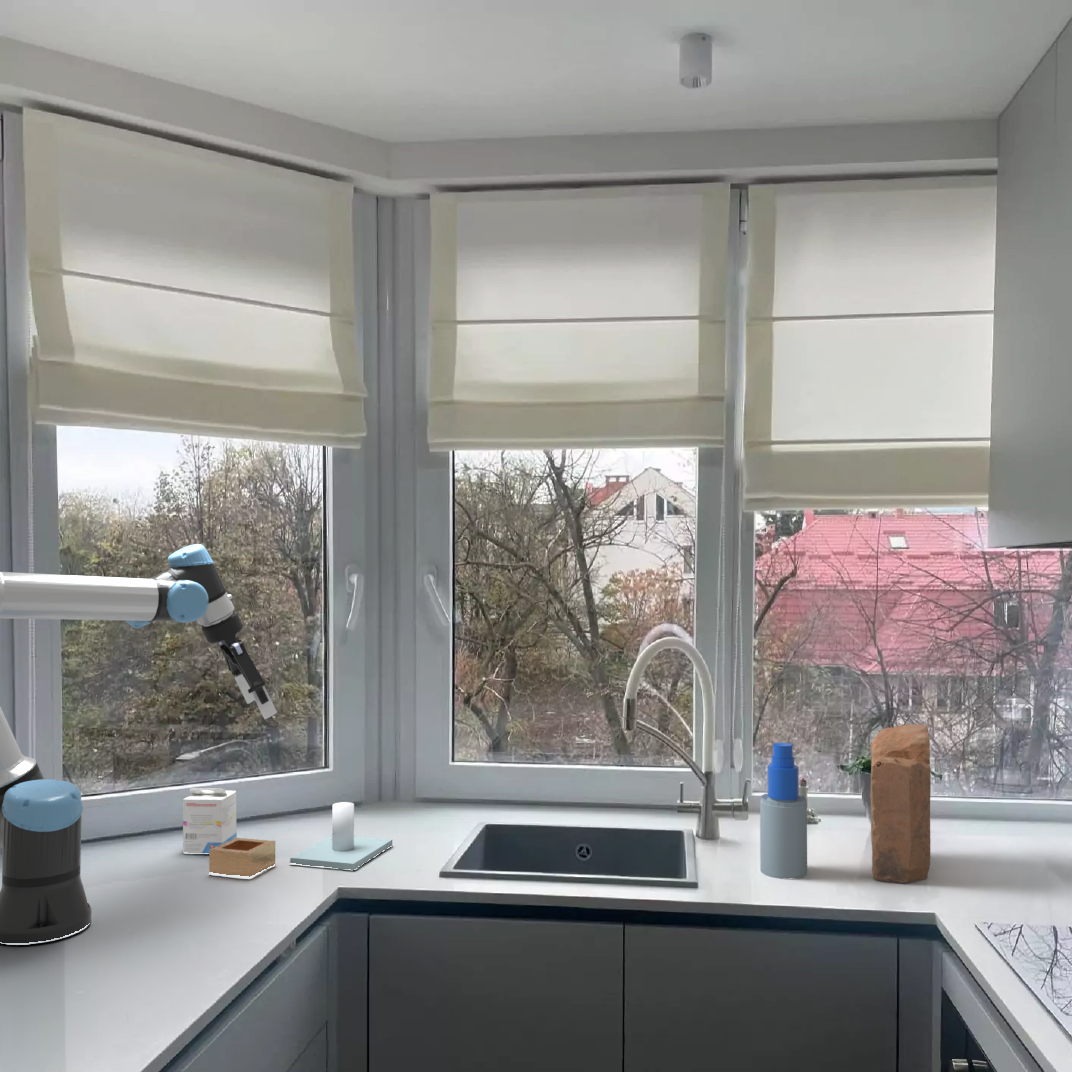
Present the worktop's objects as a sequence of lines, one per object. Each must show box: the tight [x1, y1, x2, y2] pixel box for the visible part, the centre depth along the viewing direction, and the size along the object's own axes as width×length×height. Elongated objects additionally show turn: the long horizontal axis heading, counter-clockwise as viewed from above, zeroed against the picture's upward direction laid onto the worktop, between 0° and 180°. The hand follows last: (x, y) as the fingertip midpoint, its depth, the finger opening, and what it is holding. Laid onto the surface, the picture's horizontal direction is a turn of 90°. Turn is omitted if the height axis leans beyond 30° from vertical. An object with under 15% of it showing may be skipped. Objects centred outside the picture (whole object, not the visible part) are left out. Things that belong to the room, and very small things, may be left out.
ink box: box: [182, 787, 237, 853], centre depth 210 cm, size 9×8×13 cm
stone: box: [869, 723, 932, 884], centre depth 197 cm, size 22×11×28 cm, turn 162°
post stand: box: [289, 801, 393, 870], centre depth 206 cm, size 18×14×10 cm
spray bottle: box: [759, 742, 808, 879], centre depth 195 cm, size 9×9×25 cm
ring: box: [208, 837, 276, 877], centre depth 195 cm, size 9×9×5 cm
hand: (261, 708), depth 205 cm, fingers open, 13 cm apart
